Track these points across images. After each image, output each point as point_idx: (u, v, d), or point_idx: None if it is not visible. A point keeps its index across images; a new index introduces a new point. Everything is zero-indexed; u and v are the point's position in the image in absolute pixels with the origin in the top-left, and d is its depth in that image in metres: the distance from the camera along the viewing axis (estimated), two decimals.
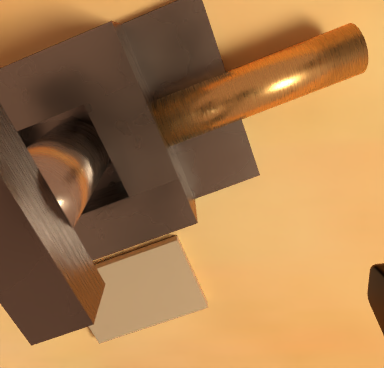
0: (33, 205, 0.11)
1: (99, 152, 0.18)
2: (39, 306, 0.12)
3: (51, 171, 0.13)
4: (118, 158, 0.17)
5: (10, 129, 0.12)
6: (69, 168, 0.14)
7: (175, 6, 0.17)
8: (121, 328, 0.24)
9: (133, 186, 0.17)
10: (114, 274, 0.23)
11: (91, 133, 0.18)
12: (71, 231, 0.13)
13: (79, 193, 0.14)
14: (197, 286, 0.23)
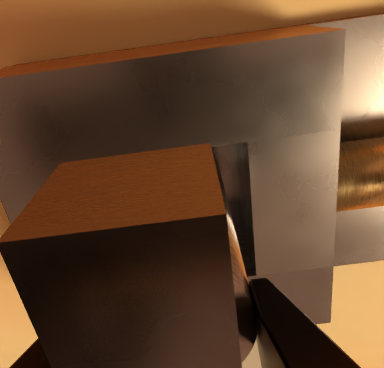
0: None
1: None
2: None
3: (239, 283, 0.07)
4: (264, 225, 0.11)
5: None
6: (240, 261, 0.08)
7: None
8: None
9: (268, 264, 0.12)
10: None
11: (216, 169, 0.12)
12: None
13: None
14: None
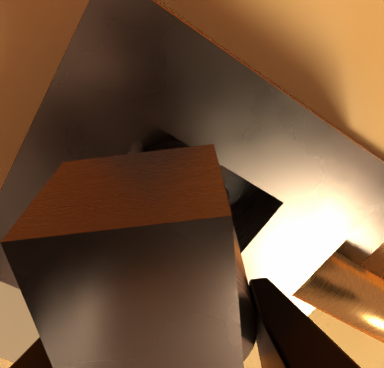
0: None
1: None
2: None
3: (240, 285, 0.07)
4: None
5: None
6: (241, 262, 0.08)
7: None
8: None
9: None
10: None
11: None
12: None
13: None
14: None
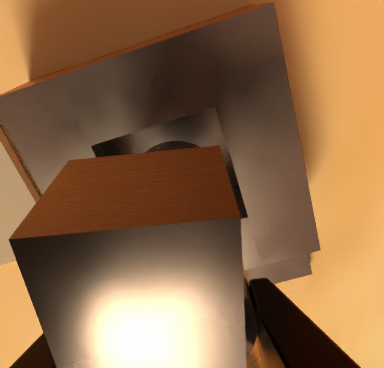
0: None
1: None
2: None
3: None
4: None
5: None
6: None
7: (304, 256, 0.19)
8: None
9: None
10: (1, 174, 0.17)
11: None
12: None
13: None
14: None
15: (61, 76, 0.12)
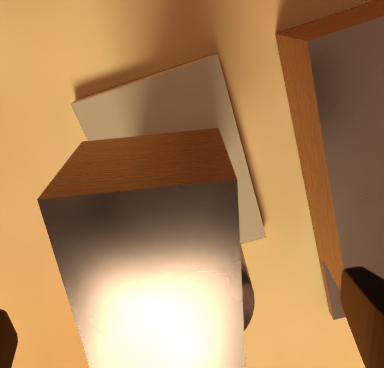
0: None
1: None
2: None
3: None
4: None
5: None
6: None
7: None
8: None
9: None
10: None
11: None
12: None
13: None
14: None
15: None
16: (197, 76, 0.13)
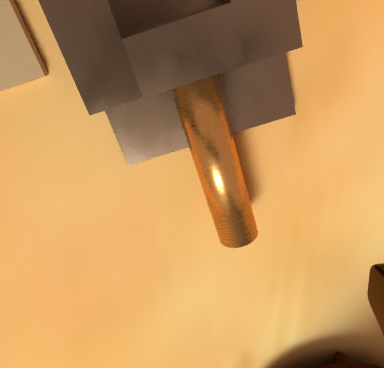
0: None
1: None
2: None
3: None
4: (168, 33, 0.15)
5: None
6: None
7: (288, 93, 0.20)
8: None
9: (134, 46, 0.15)
10: None
11: None
12: None
13: None
14: None
15: None
16: None
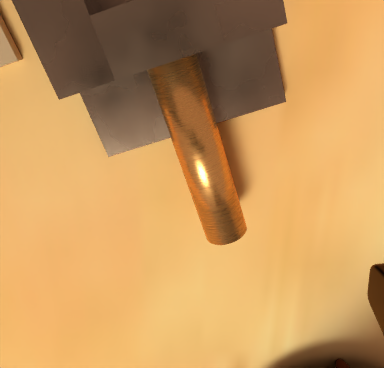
0: None
1: None
2: None
3: None
4: (140, 8, 0.14)
5: None
6: None
7: (277, 78, 0.18)
8: None
9: (104, 23, 0.14)
10: None
11: None
12: None
13: None
14: None
15: None
16: None
